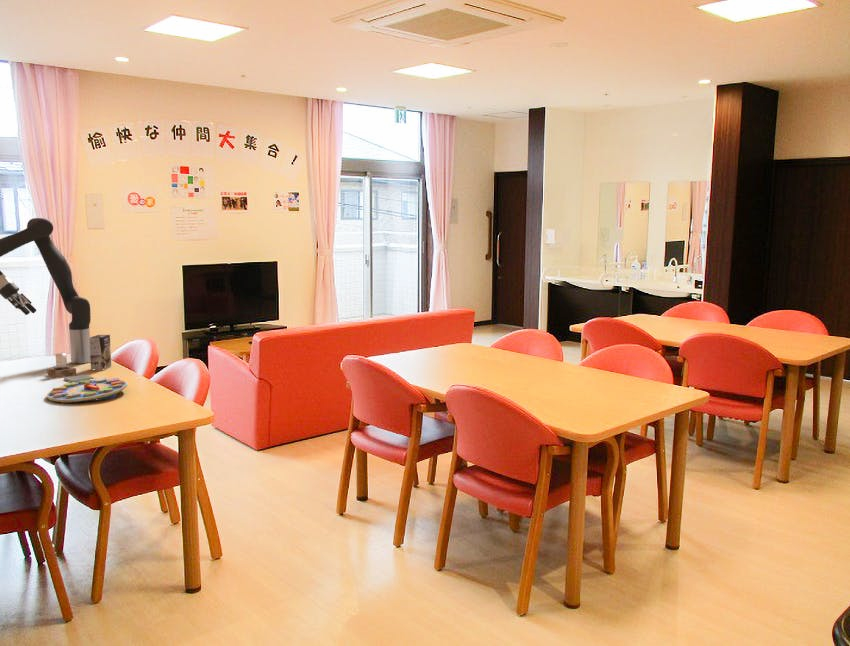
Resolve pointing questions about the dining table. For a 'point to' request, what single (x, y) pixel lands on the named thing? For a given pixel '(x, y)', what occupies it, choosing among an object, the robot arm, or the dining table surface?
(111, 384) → the shape sorting clock
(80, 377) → the slate tile
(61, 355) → the metal cylinder
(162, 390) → the dining table surface
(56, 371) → the pocket block
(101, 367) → the coffee box
